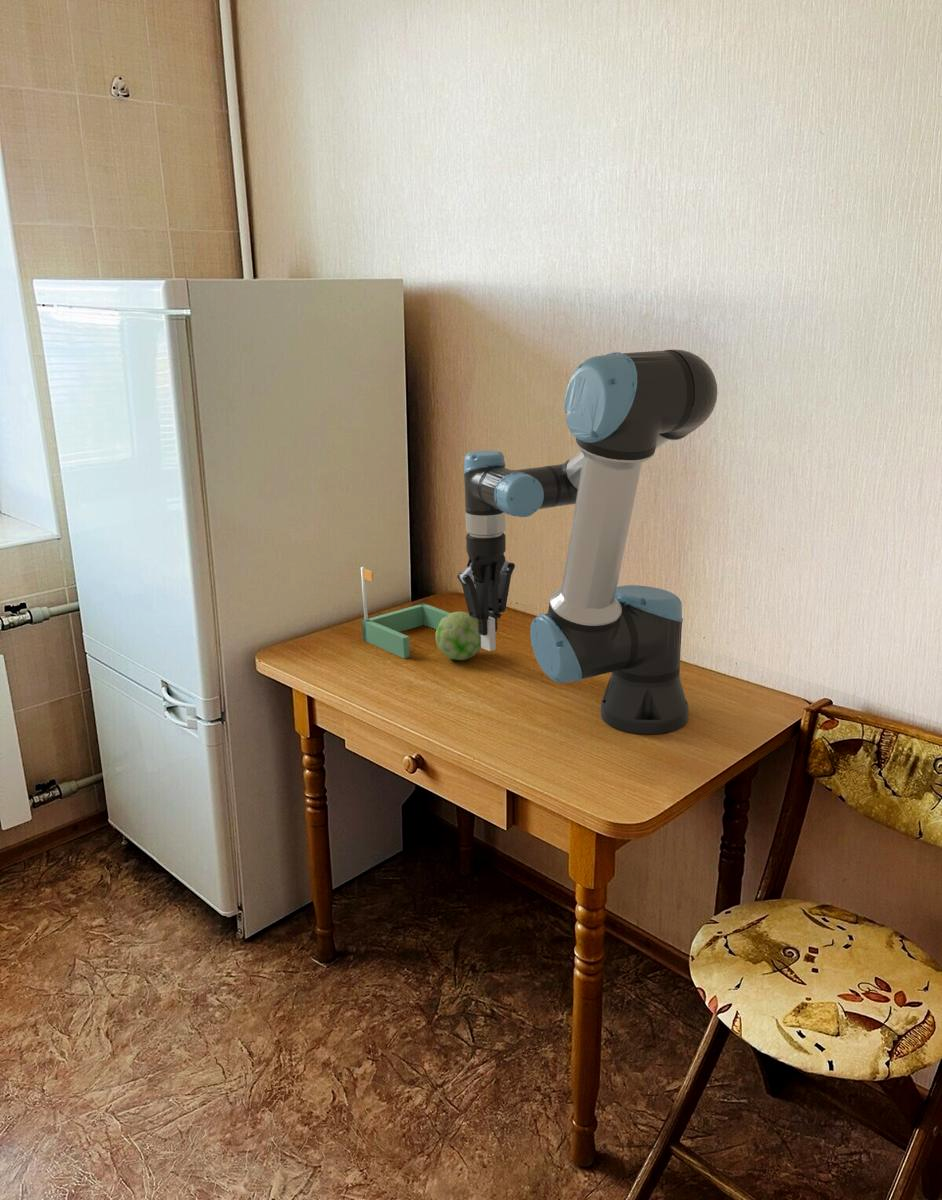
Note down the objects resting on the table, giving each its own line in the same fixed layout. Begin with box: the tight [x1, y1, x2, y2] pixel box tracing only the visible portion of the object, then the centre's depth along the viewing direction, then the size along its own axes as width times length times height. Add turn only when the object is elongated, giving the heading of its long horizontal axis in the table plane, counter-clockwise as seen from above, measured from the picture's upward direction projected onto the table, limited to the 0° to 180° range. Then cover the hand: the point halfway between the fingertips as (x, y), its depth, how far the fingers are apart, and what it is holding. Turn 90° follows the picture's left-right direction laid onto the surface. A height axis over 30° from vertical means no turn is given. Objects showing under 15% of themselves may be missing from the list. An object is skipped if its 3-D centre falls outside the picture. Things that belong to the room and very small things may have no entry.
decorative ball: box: [434, 611, 482, 661], centre depth 195 cm, size 10×10×10 cm
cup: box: [360, 566, 451, 660], centre depth 206 cm, size 16×17×16 cm
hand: (488, 648), depth 189 cm, fingers closed
